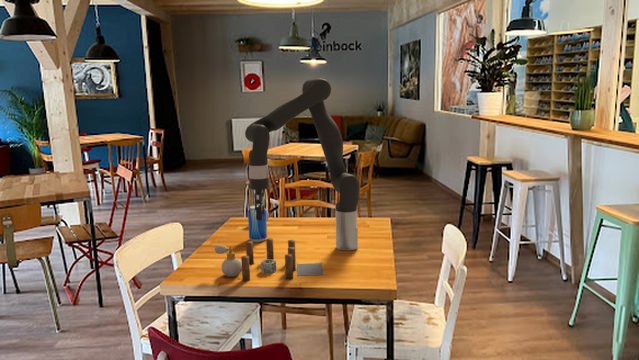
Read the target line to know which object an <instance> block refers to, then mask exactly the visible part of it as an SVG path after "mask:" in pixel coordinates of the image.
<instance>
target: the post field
mask: <svg viewBox="0 0 639 360" xmlns="http://www.w3.org/2000/svg"><path fill="white" fill-rule="evenodd" d="M265 242H266V243H265V244H266V247H265V248H266V259H273V260H275V257H274V256H275V254H274V238H272V237H271V238H268V237H267V238H266V240H265ZM287 247H288V248H287V254H285V255H284V267H285V269H284V270H285V280H288V281H291V280H293V279H294V272H295V271H296V269H297V263H296V261H297V260H296V240H295V239H289V240H287ZM245 251H246V252H245V254H246V255H242V256H241V259H240V262H241V266H242V267H241V275H242V277H241V279H242V282H249V281H251V273H250V272H251V271H250V266H253V265H254V263H255V262H254V259H255V258H254V243H253V241H251V240H249V241H248V240H247V241H246V242H245Z"/></svg>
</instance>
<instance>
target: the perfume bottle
mask: <svg viewBox="0 0 639 360" xmlns="http://www.w3.org/2000/svg"><path fill="white" fill-rule="evenodd" d="M214 252H215V253H216V254H218V255H220V254H221V255H222V254H226V258H225V259H224V260H223V262H222V263H221V271H222V273H223V274H224V275H225V276H226V277H229V278H230V277H231V278H232V277H236V276H238V275H239V274H240V272H242V262H241V260H239V258H237V257H236V254H235V252H234V251H233V248H232V246H230V245H229V247H227V246H226V245H224V244H217V245H215V246H214Z"/></svg>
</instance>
